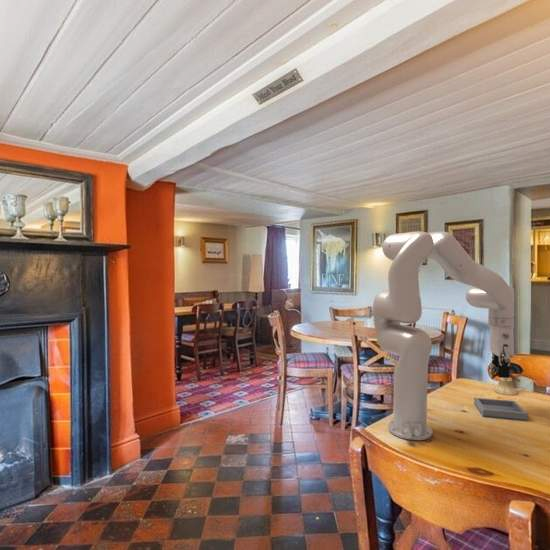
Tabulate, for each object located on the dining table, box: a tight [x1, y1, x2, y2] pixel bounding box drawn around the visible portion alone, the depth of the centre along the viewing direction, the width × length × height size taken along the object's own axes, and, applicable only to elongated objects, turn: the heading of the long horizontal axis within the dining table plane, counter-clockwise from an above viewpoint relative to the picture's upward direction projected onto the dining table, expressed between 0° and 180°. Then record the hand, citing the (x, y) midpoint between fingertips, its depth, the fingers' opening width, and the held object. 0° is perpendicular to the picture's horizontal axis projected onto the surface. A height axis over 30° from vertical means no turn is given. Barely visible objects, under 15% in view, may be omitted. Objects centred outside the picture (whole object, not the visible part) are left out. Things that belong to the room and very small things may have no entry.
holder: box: [473, 397, 529, 422], centre depth 130 cm, size 12×13×2 cm
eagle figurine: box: [488, 361, 524, 382], centre depth 130 cm, size 8×7×9 cm
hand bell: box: [493, 355, 519, 397], centre depth 151 cm, size 8×8×16 cm
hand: (500, 373), depth 130 cm, fingers closed on eagle figurine, 6 cm apart
